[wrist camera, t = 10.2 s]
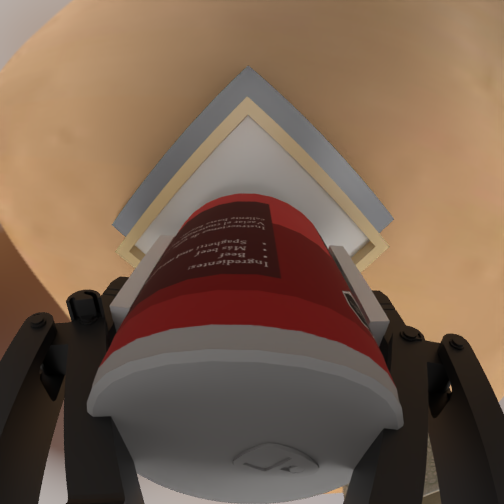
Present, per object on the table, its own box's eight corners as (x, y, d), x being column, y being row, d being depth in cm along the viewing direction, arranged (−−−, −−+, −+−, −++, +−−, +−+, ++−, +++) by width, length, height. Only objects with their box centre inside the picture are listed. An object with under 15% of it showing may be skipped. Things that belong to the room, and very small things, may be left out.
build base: (248, 69, 19) (245, 46, 13) (386, 213, 24) (426, 245, 17) (118, 219, 24) (79, 252, 18) (255, 329, 29) (254, 383, 22)
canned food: (287, 337, 18) (307, 511, 8) (159, 292, 17) (86, 464, 7) (351, 227, 15) (469, 389, 5) (204, 164, 14) (88, 275, 4)
